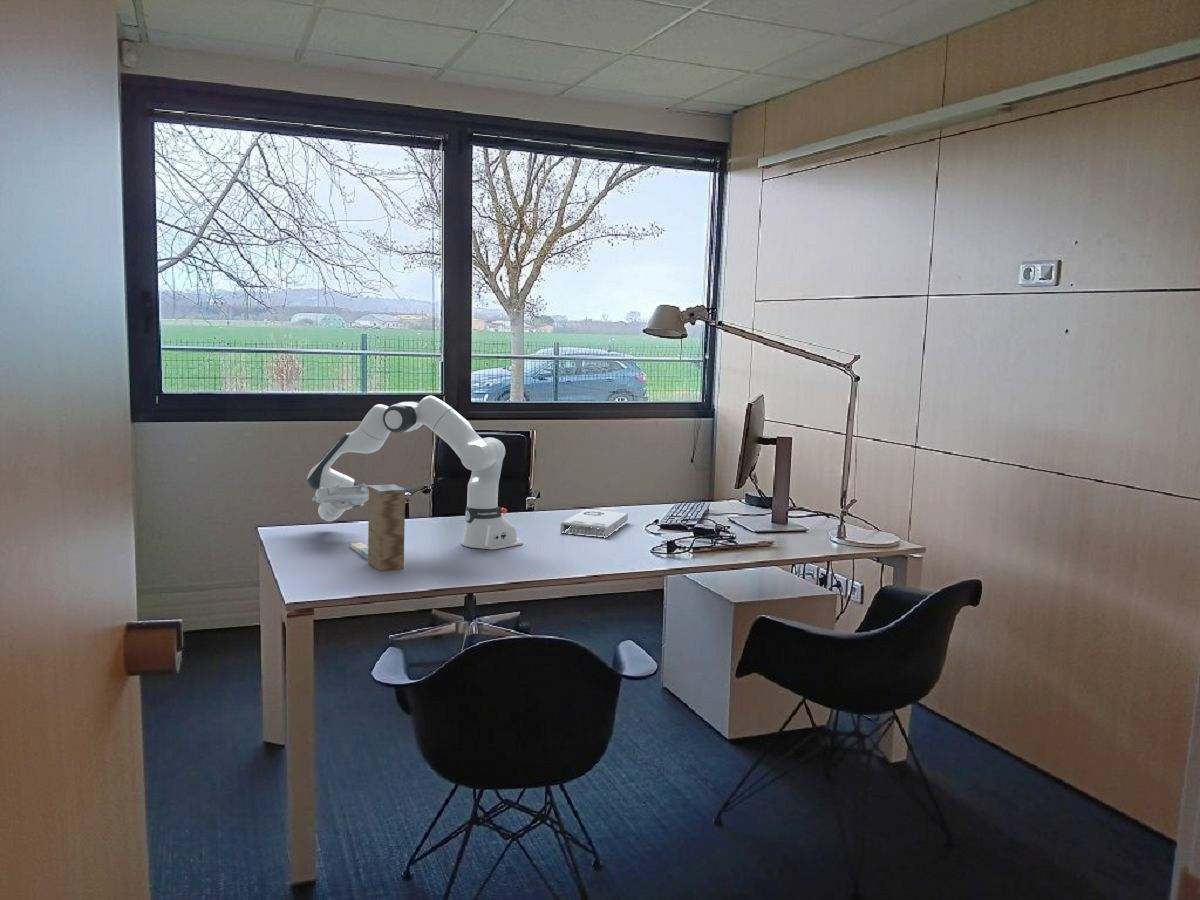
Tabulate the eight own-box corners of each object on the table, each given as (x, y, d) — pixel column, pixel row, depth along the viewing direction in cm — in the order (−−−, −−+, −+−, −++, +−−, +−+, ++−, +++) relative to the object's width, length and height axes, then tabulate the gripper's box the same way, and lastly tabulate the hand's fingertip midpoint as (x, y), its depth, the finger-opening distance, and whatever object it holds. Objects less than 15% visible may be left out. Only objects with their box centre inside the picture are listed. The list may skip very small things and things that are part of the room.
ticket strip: (363, 546, 314) (363, 540, 314) (383, 559, 298) (383, 553, 297) (349, 547, 311) (349, 542, 311) (368, 560, 295) (368, 554, 295)
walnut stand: (392, 560, 296) (393, 484, 293) (405, 568, 287) (406, 489, 284) (366, 563, 291) (367, 485, 288) (378, 571, 282) (379, 491, 279)
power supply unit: (559, 535, 348) (560, 523, 347) (585, 520, 379) (585, 508, 379) (605, 540, 343) (606, 527, 342) (627, 524, 374) (628, 513, 373)
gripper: (309, 492, 320) (320, 479, 310) (364, 489, 332) (376, 476, 321) (312, 509, 319) (322, 496, 308) (367, 505, 330) (379, 492, 320)
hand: (350, 486), depth 315 cm, fingers open, 8 cm apart
